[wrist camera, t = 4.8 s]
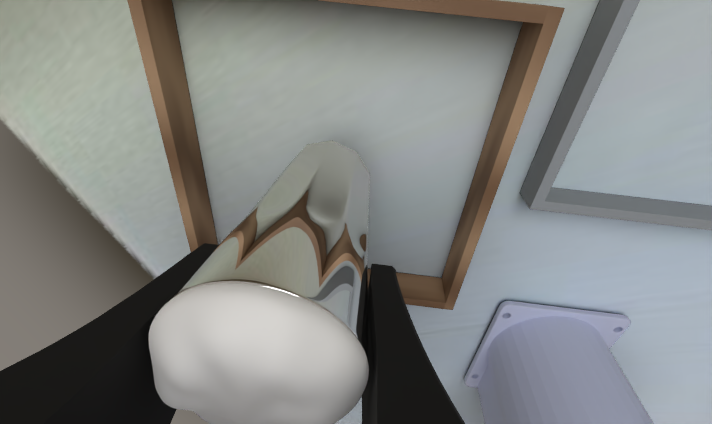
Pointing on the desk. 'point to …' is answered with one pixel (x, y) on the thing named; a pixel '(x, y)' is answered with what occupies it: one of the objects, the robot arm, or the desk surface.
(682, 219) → the grey square frame
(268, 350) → the milkshake
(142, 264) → the desk surface
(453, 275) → the brown wooden frame
